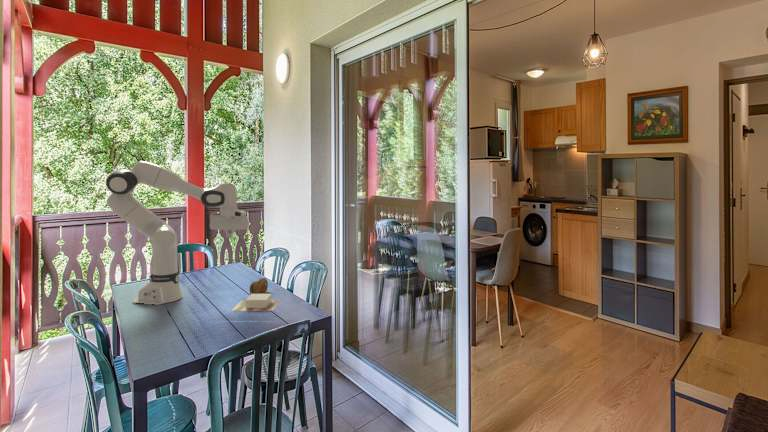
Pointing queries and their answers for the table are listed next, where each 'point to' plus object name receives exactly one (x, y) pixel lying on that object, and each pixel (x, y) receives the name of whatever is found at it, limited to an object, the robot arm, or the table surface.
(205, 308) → the table surface
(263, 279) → the tin
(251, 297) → the tile
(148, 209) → the robot arm
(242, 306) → the board
